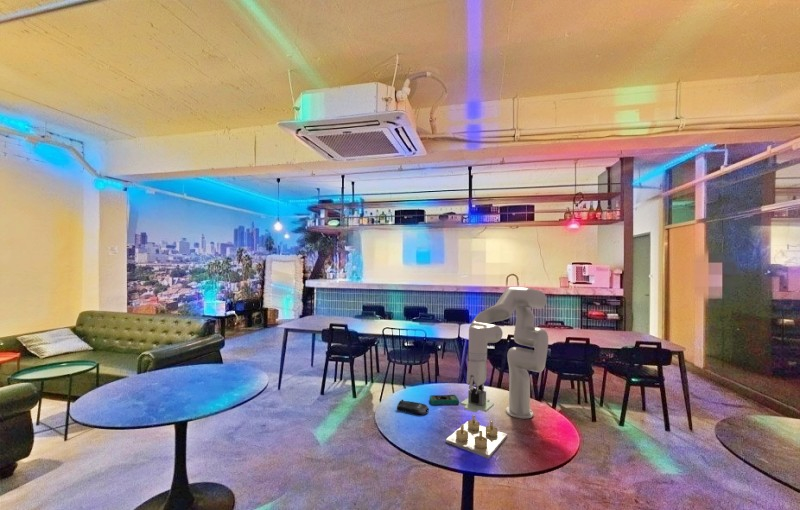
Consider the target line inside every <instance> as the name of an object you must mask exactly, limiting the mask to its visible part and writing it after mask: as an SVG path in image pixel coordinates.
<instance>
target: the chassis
mask: <svg viewBox="0 0 800 510" xmlns="http://www.w3.org/2000/svg"><path fill="white" fill-rule="evenodd" d="M507 438H508V434H507V433H505V432H502V431H499V430H498V427H496V426H494V420H492V419H491V420H490V421H489V425H486V426H483V425H481V424H480V421H478V420H476V414H472V418H471V419H469V420H468V421H466V422H465V423H463V424H460V427H458V428H457V429H456V430H455V431H454V432H453V433H452V434H450V435H449V436H448V437H447V438H446V439H445V443H446V442H447V444H450V445H451V444H452V445H451V446H454V447H457V448H459V447H460V449H461V450H465V451H468V452H470V453H473V454H475V455H478V456H481V457H483V458H486V459H490V458H491V457H492V456H493V454H494V453H495V452H496V451H497V450H498V449H499V447H500V446H501V445H502V444H501V443H503V442H505V440H507ZM495 450H496V451H495Z"/></svg>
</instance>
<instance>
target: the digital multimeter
mask: <svg viewBox="0 0 800 510" xmlns="http://www.w3.org/2000/svg"><path fill="white" fill-rule="evenodd" d="M429 403H430V404H431V405H432V406H437V405H436V404H444V405H459V404H460V400H459V397H458V396H457V395H456V394H444V395H443V394H442V395H441V394H439V395H437V394H434V395H430V396H429Z"/></svg>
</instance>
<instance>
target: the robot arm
mask: <svg viewBox="0 0 800 510" xmlns="http://www.w3.org/2000/svg"><path fill="white" fill-rule="evenodd" d="M546 305H547V295H546V293H545V292H543V291H541V290H539V289H538V290H537V289H533V288H529V287H517V286H515V287H513V286H512V287H511V286H510V287H508V288H506V289H505V290H504V291H503V293H502V295H501V296H500V297H499V298H498V300H497V302H495V304H494V305H493V306H490V307H488V308H486V309H484V310H482V311H480V312H479V313H477V314H476V316H475V317H474V319H472V321H471V323H470V325H469V327H468V361H467V362H468V363H467V370H466V384H467V385H468V389H469V390H471V402H472V403H476V404H478V403H479V394H478V389H479V390H483V391H485V390H484V389H485V386H484V385H485V382H487V376H488V375H487V361H488V344H491V343H492V344H495V343H498V342H499V341H501V339H502V337H503V333H504V332H503V330H502V328H501V327H500V326H499V325H496V324H492V323H495V322H502V321H505V320H508V319H510V318H511V317H512V315H513V314H514V313H516V318H515V324H514V333H513V340H514V343H516V344H518V345H521V346H525V347H529V348H534V350H533V349H528V348H525V347H524V348H523V347H519V346H513V347H510V348H508V351H507V354H506V357H507V363H508V372H509V375H508V377H509V381H508V385H509V386H508V387H509V388H508V406H506V408H505V412H506V413H507V415H508V416H511V417H513V418H515V419H523V420H525V419H527V420H528V419H531V418H533V417H534V411H533V410H532V409H531V377H530V374H529V372H528V371H532V372H534V373H535V372H536V373H541V372H543V371H544V370H545V368H546V362H547V355H548V347H549V334H548V332H547V331H546V330H545V329H543V328H540V327H534V326H535V320H536V319H535V315H534V313H533V311H532V310H531V309H539V310H540V309H543V308H545V306H546Z"/></svg>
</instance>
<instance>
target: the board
mask: <svg viewBox="0 0 800 510" xmlns="http://www.w3.org/2000/svg"><path fill="white" fill-rule="evenodd" d="M478 394H479V403H478V404H476V403H472V402H471V390H470V389H469V390H468V394H467V395H468V396H467V397H466V398H465V399H464V400H463V401H461V402H460V405H461V406H464V407H463V409H464V410H465V411H469V412H473V413H477V412H478V411H481V412H484V413H487V412H489V410H491V408H493V407H494V405H495V404H494V403H493V402H490V399H489V398H487V391H486V390H484V391H483V390H479V389H478Z"/></svg>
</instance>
